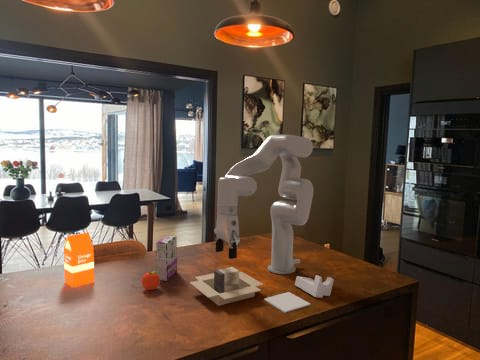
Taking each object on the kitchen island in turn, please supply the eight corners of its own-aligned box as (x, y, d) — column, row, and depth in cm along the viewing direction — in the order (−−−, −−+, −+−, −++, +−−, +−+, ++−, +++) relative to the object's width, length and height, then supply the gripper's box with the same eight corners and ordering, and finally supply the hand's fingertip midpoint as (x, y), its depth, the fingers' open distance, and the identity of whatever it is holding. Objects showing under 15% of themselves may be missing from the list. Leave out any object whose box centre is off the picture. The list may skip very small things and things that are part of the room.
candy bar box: (166, 271, 165) (166, 235, 163) (177, 272, 164) (177, 235, 162) (156, 280, 154) (155, 241, 153) (167, 281, 153) (167, 242, 152)
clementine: (156, 283, 151) (156, 266, 150) (165, 289, 146) (165, 271, 145) (138, 289, 145) (138, 271, 145) (147, 294, 140) (147, 276, 140)
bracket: (329, 298, 143) (334, 279, 143) (315, 297, 139) (320, 277, 139) (308, 286, 154) (312, 268, 154) (294, 284, 151) (299, 266, 151)
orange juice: (94, 282, 151) (93, 234, 149) (72, 288, 145) (71, 238, 143) (86, 277, 157) (84, 230, 155) (64, 282, 150) (62, 234, 148)
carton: (236, 277, 159) (236, 268, 159) (269, 298, 139) (269, 287, 139) (185, 288, 146) (185, 278, 146) (213, 312, 127) (214, 301, 126)
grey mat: (288, 293, 144) (288, 291, 144) (310, 305, 134) (310, 303, 134) (263, 299, 138) (263, 298, 138) (284, 312, 128) (284, 311, 127)
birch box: (231, 289, 147) (232, 266, 146) (238, 293, 143) (239, 270, 142) (214, 293, 143) (214, 270, 142) (220, 298, 139) (220, 274, 138)
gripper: (248, 213, 134) (246, 259, 135) (224, 206, 148) (223, 248, 150) (230, 214, 130) (229, 262, 131) (207, 207, 144) (206, 250, 146)
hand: (225, 254), depth 141 cm, fingers open, 9 cm apart
